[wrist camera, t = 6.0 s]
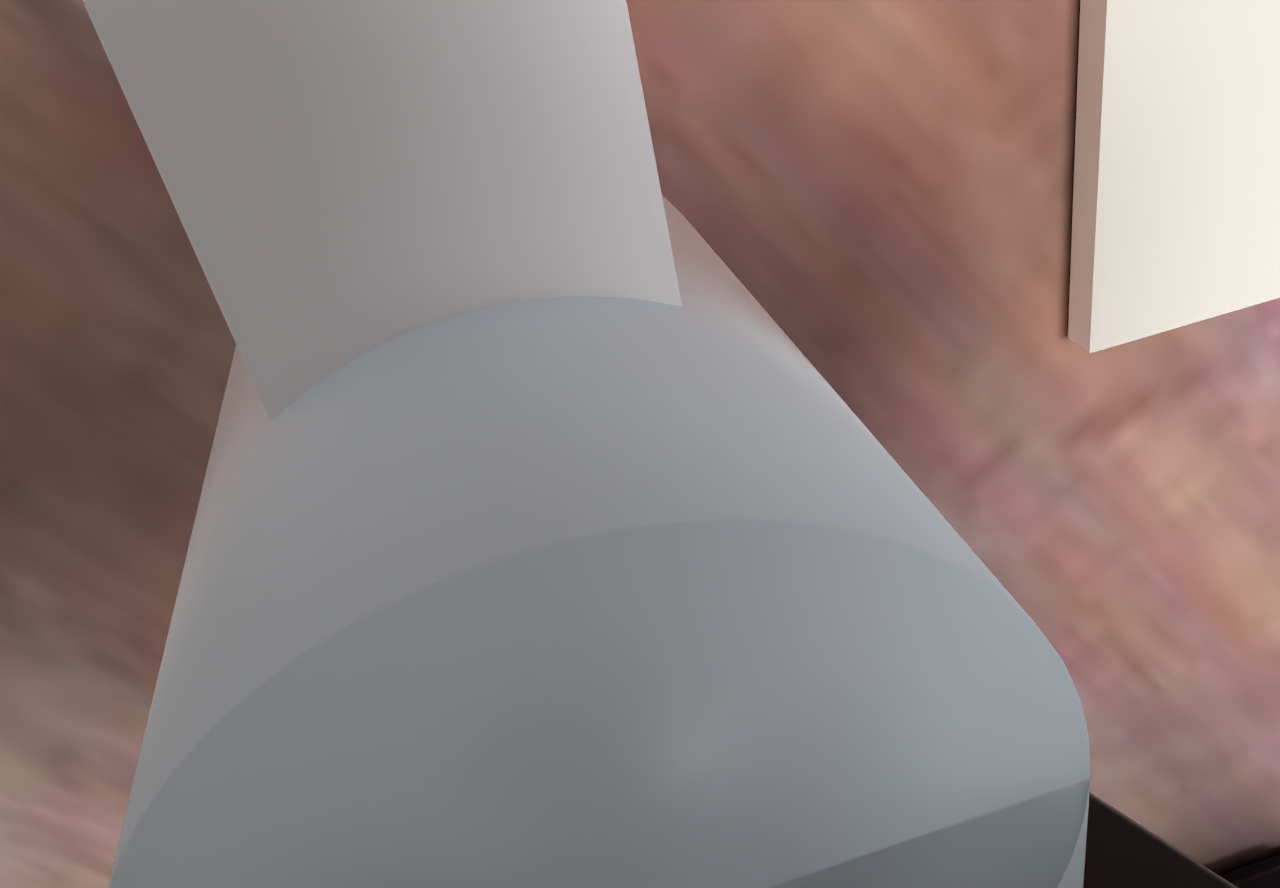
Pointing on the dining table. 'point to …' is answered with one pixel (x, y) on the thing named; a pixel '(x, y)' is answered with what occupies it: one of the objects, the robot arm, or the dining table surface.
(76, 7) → the dining table surface
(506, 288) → the connector casing
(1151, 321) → the coaster pad
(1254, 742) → the dining table surface
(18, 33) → the dining table surface
